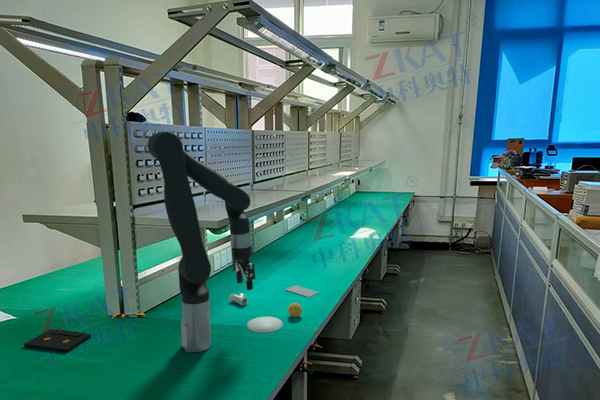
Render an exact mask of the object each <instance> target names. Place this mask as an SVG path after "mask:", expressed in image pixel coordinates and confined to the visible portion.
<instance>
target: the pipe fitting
mask: <svg viewBox="0 0 600 400" xmlns="http://www.w3.org/2000/svg"><path fill="white" fill-rule="evenodd" d="M229 301H230V302H232V303H235V304H238V305H240V306H244V307H245V306H247V304H248V298H247V297H246V295H245V293H243V292H240V293H239V294H238V295H237V294H236V293H231V294H230V296H229Z"/></svg>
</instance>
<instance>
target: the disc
mask: <svg viewBox="0 0 600 400" xmlns="http://www.w3.org/2000/svg"><path fill="white" fill-rule="evenodd" d="M283 325H284V323H283V321H282V320H281V319H279V318H278V317H273V316H261V317H256V318H253V319H250V320H249V321H248V322H247V323H246V327H247V329H248V330H249V331H252V332H254V333H258V334H269V333H274V332H277V331H279V330H281V329H282V328H283Z"/></svg>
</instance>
